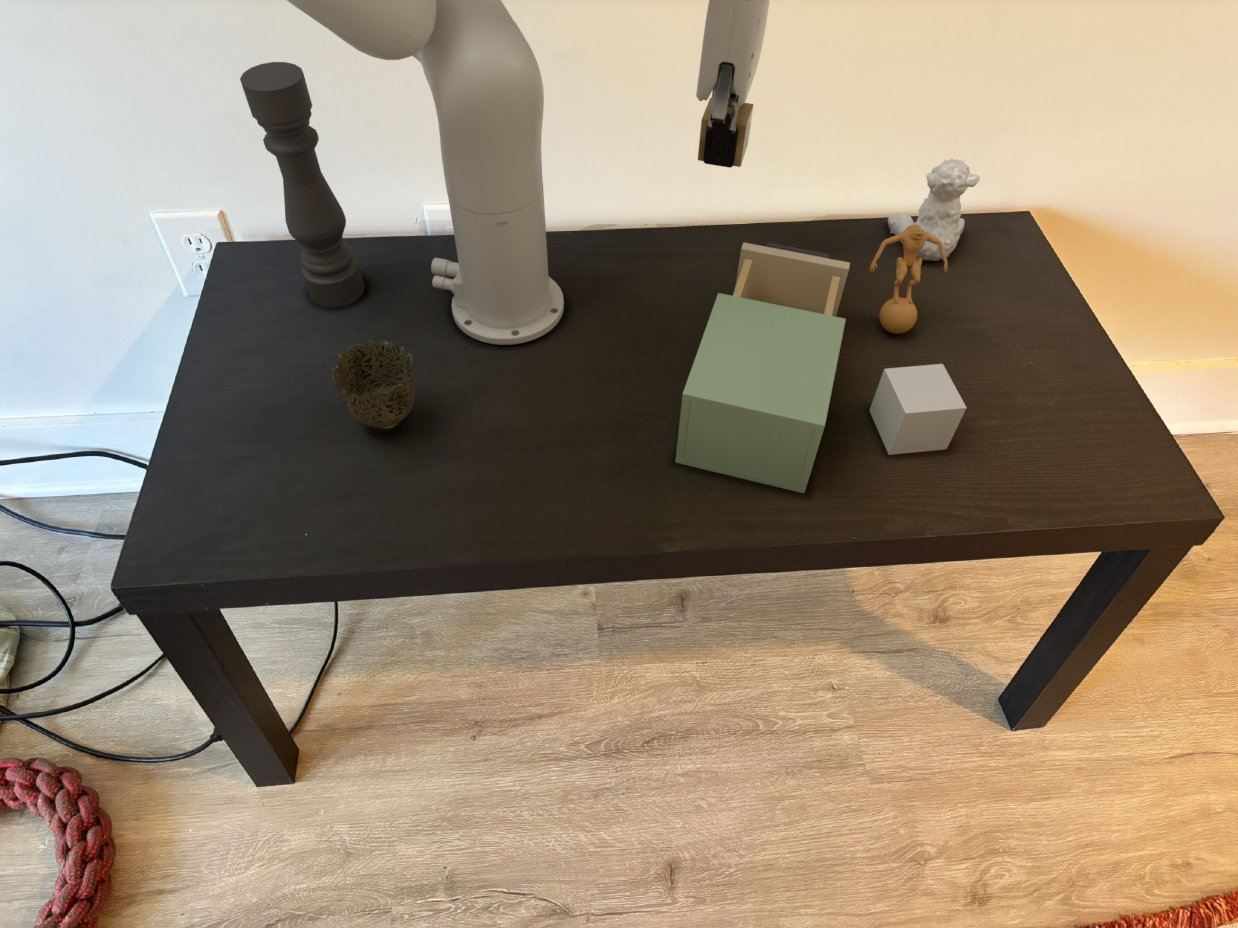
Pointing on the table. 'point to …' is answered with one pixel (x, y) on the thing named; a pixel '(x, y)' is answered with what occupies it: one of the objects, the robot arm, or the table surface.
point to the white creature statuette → (939, 208)
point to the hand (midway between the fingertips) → (723, 149)
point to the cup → (376, 384)
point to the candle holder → (304, 182)
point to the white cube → (916, 409)
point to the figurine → (899, 310)
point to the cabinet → (759, 392)
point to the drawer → (791, 277)
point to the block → (742, 125)
